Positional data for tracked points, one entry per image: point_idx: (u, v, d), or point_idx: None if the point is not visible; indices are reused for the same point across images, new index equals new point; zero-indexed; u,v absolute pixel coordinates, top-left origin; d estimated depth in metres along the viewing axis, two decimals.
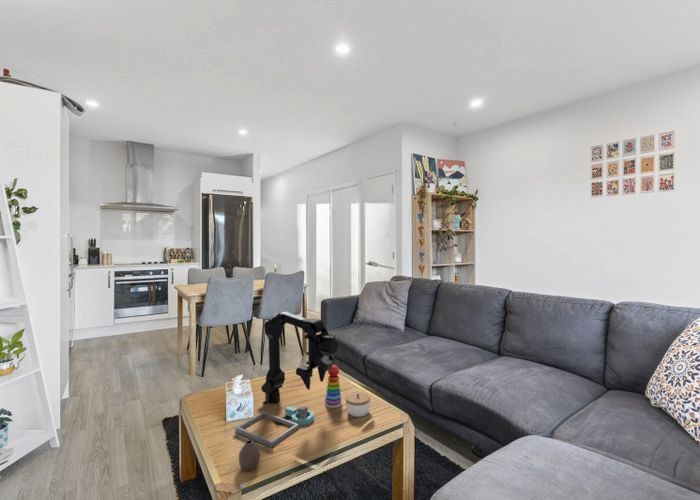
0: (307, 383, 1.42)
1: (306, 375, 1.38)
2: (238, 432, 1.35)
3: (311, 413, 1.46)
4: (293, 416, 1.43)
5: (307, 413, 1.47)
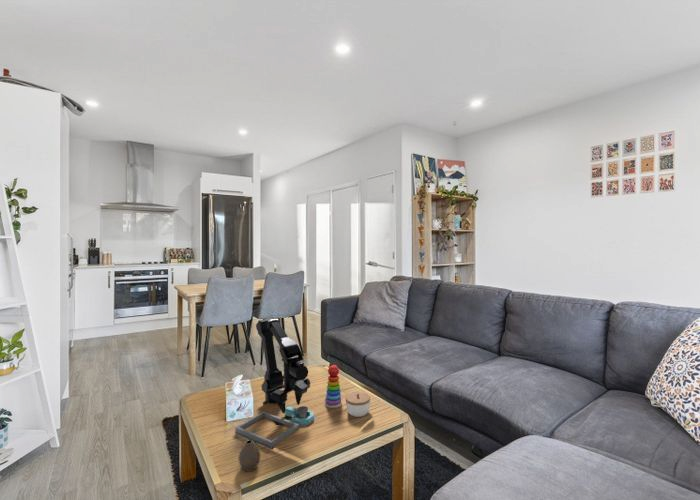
0: (282, 407, 1.43)
1: (280, 400, 1.39)
2: (238, 432, 1.35)
3: (311, 413, 1.46)
4: (293, 416, 1.43)
5: (307, 413, 1.47)
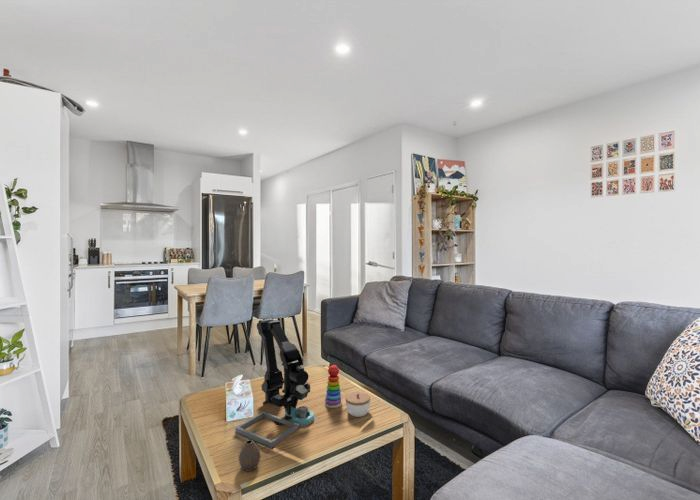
0: (288, 409, 1.46)
1: (280, 405, 1.39)
2: (238, 432, 1.35)
3: (311, 413, 1.46)
4: (293, 416, 1.43)
5: (307, 413, 1.47)
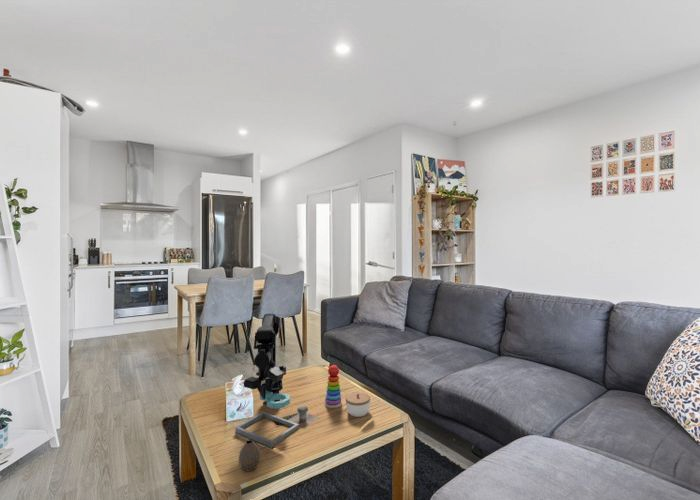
0: (262, 392, 1.39)
1: (253, 387, 1.32)
2: (238, 432, 1.35)
3: (287, 396, 1.38)
4: (268, 399, 1.36)
5: (283, 397, 1.40)
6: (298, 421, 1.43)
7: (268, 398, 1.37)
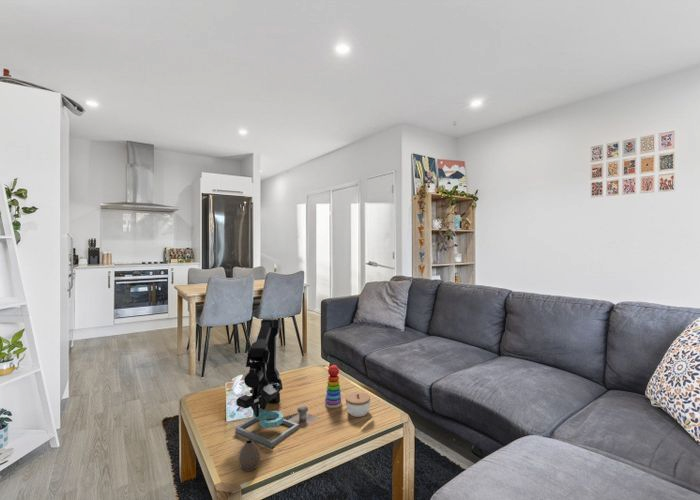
0: (255, 410, 1.37)
1: (246, 406, 1.30)
2: (238, 432, 1.35)
3: (280, 415, 1.37)
4: (261, 418, 1.35)
5: (276, 415, 1.39)
6: (298, 421, 1.43)
7: (261, 416, 1.36)
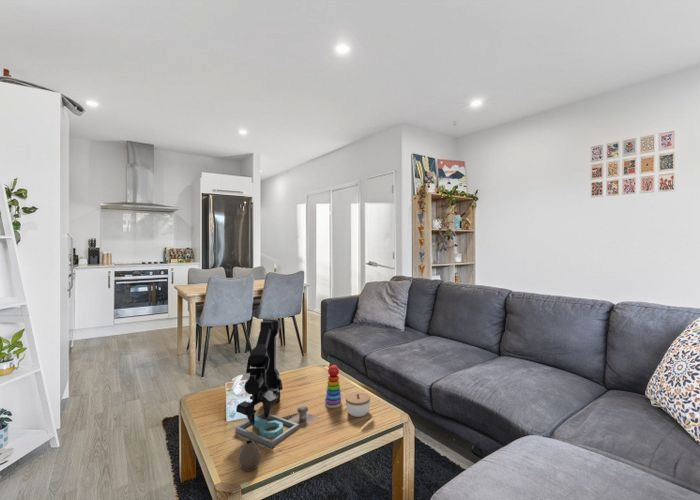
0: (251, 419, 1.35)
1: (246, 413, 1.30)
2: (238, 432, 1.35)
3: (280, 425, 1.37)
4: (261, 428, 1.35)
5: (276, 425, 1.39)
6: (298, 421, 1.43)
7: (261, 426, 1.36)
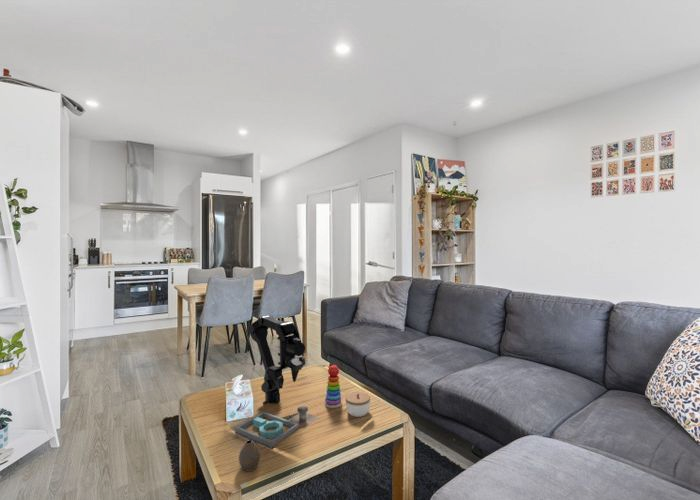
0: (277, 383, 1.49)
1: (275, 375, 1.45)
2: (238, 432, 1.35)
3: (280, 425, 1.37)
4: (261, 428, 1.35)
5: (276, 425, 1.39)
6: (298, 421, 1.43)
7: (261, 426, 1.36)
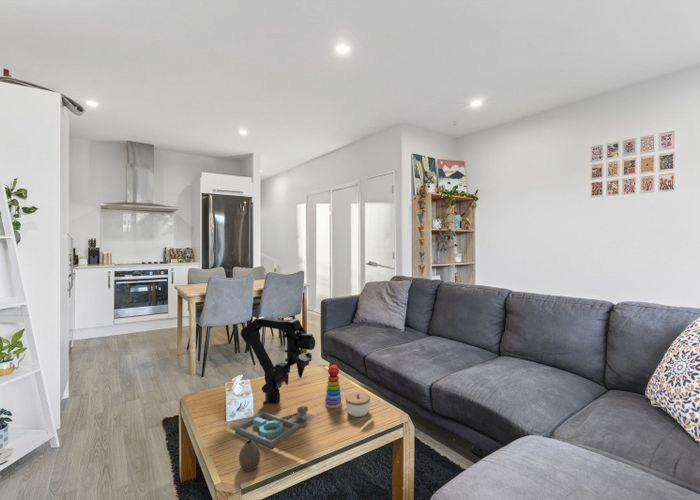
0: (285, 379, 1.53)
1: (284, 371, 1.49)
2: (238, 432, 1.35)
3: (280, 425, 1.37)
4: (261, 428, 1.35)
5: (276, 425, 1.39)
6: (298, 421, 1.43)
7: (261, 426, 1.36)
